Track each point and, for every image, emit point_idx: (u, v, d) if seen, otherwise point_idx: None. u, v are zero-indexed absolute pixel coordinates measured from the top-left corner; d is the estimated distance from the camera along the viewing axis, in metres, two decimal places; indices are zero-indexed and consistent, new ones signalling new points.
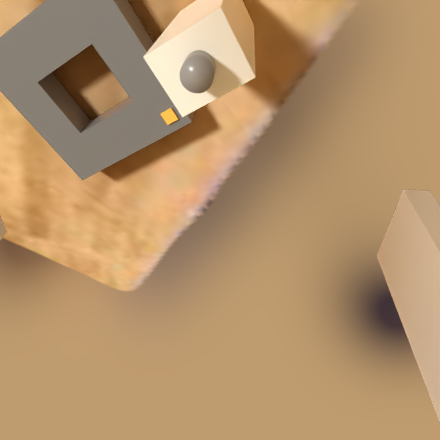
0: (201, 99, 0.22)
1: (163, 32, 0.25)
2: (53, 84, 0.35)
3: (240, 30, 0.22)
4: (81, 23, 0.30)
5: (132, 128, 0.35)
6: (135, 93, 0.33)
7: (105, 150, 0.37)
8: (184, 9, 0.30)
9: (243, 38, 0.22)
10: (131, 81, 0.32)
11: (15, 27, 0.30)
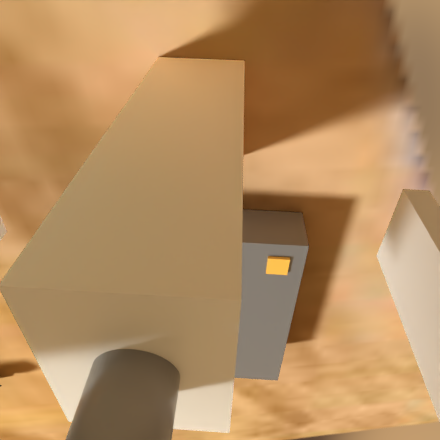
0: (215, 399, 0.08)
1: None
2: None
3: (158, 182, 0.09)
4: None
5: (259, 308, 0.23)
6: None
7: (262, 344, 0.26)
8: None
9: (173, 192, 0.08)
10: None
11: None
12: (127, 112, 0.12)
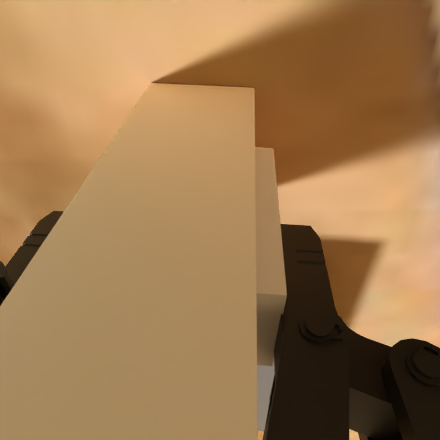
0: None
1: None
2: None
3: (129, 309, 0.06)
4: None
5: None
6: None
7: None
8: None
9: (150, 334, 0.05)
10: None
11: None
12: (101, 171, 0.09)
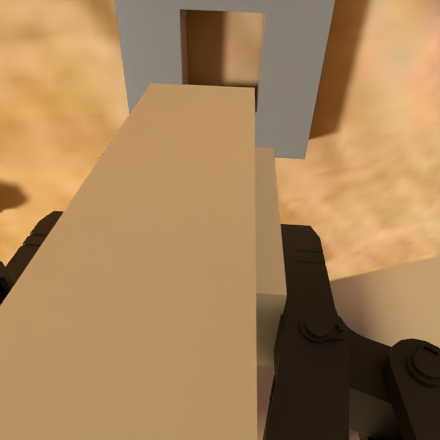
0: None
1: None
2: None
3: (129, 309, 0.06)
4: (154, 2, 0.24)
5: (293, 43, 0.25)
6: (259, 0, 0.23)
7: (293, 101, 0.27)
8: None
9: (149, 334, 0.05)
10: None
11: (126, 80, 0.27)
12: (101, 171, 0.09)
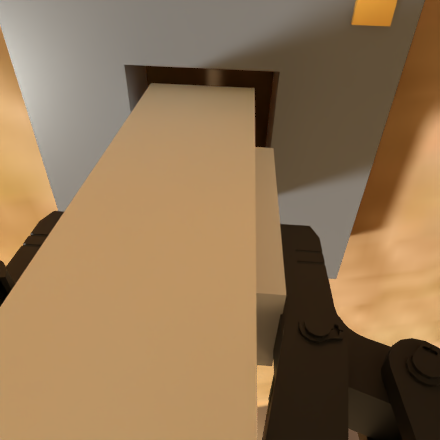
0: None
1: None
2: None
3: (129, 309, 0.06)
4: (79, 53, 0.13)
5: (327, 120, 0.14)
6: (267, 50, 0.13)
7: (323, 205, 0.16)
8: None
9: (150, 333, 0.05)
10: (238, 38, 0.12)
11: (49, 172, 0.16)
12: (101, 171, 0.09)
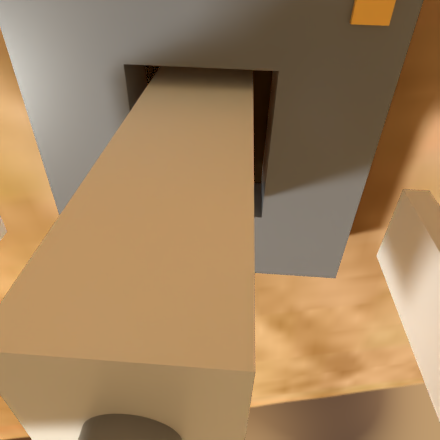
0: None
1: None
2: None
3: (159, 212, 0.08)
4: (78, 52, 0.13)
5: (326, 120, 0.14)
6: (266, 50, 0.13)
7: (322, 204, 0.16)
8: None
9: (175, 226, 0.07)
10: (237, 37, 0.12)
11: (48, 171, 0.16)
12: (127, 128, 0.11)
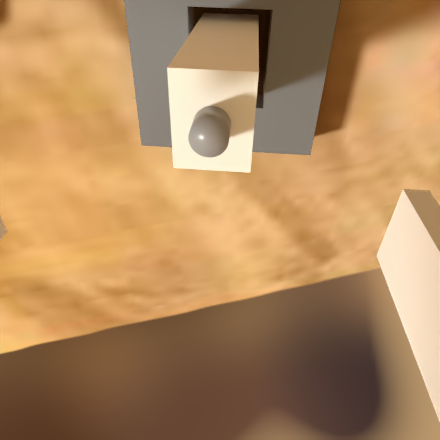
0: (245, 143, 0.18)
1: None
2: None
3: (219, 50, 0.19)
4: None
5: (300, 39, 0.25)
6: None
7: (299, 97, 0.27)
8: None
9: (227, 52, 0.18)
10: None
11: (135, 77, 0.27)
12: (195, 32, 0.22)
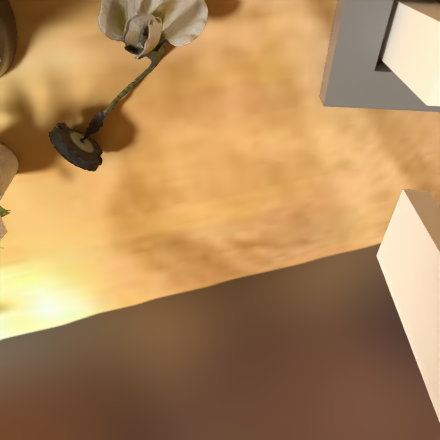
0: None
1: (401, 79, 0.31)
2: (378, 66, 0.37)
3: None
4: None
5: None
6: None
7: None
8: (380, 51, 0.36)
9: None
10: None
11: (336, 49, 0.35)
12: (418, 10, 0.29)
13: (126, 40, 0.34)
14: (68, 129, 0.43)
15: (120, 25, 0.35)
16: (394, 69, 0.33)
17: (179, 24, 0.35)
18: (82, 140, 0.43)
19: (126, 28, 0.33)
